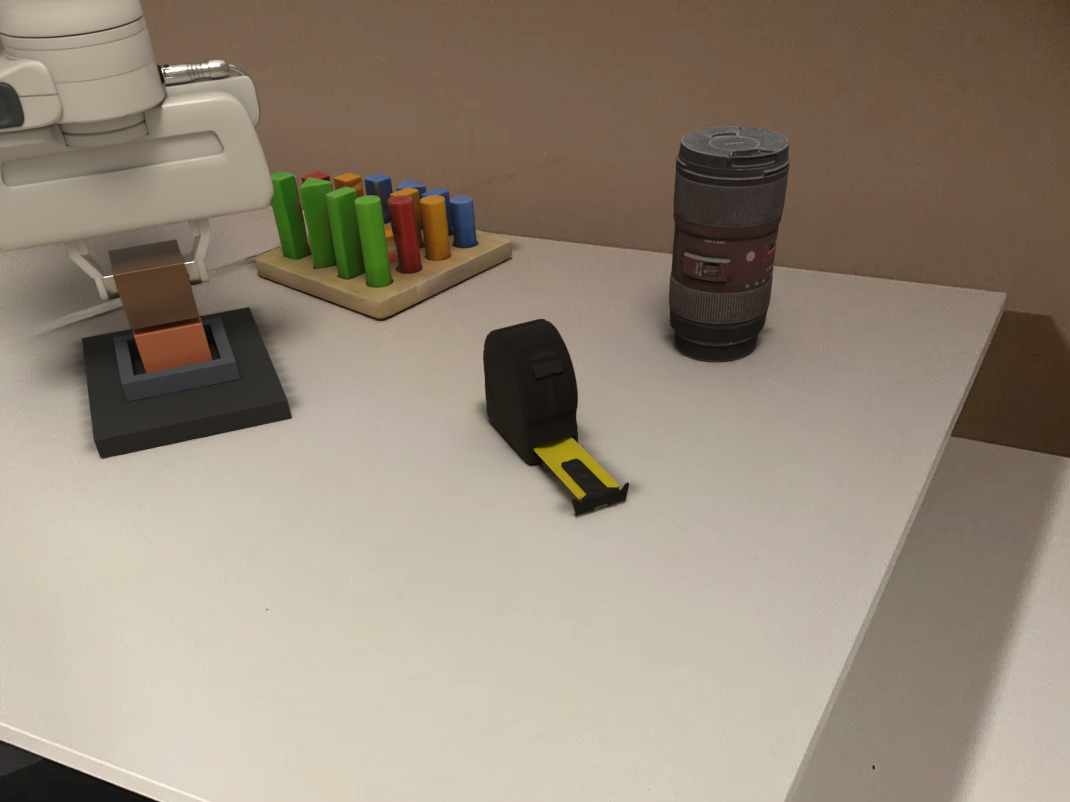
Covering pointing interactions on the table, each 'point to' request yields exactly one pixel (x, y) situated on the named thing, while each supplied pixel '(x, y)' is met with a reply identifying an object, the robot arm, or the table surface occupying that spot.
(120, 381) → the black socket base
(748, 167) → the camera lens
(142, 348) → the orange block
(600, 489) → the tape measure
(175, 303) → the brown block
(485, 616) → the table surface
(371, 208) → the peg board
